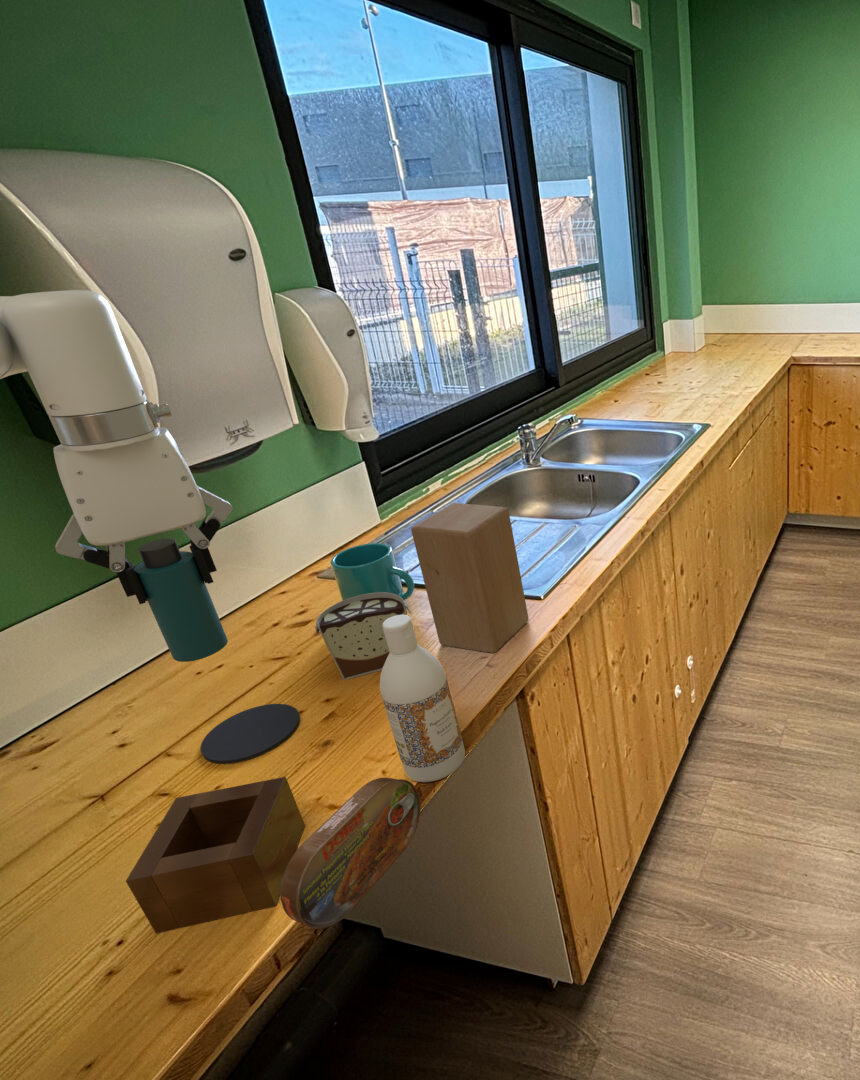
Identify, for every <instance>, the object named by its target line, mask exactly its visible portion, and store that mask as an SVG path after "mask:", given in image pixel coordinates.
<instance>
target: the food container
mask: <svg viewBox="0 0 860 1080" xmlns="http://www.w3.org/2000/svg"><path fill="white" fill-rule="evenodd" d="M405 607H406V608H405ZM407 612H408V613H409V614H410V615H411V614H412V611H411V609H410V607H409V606H408V604H407V601H406V602H405V601H404V600H403V599H402V598H401V597H400V596H398V595H396V594H392V593H383V592H379V593H368V594H363V595H358V596H355V597H351V598H348V599H346V600H343V601H342V600H341V601H338V602H336V603H334V604H332V605H331V606H328V607H327V608H326V609H325V610H324V611H322V612H321V613H320V614H319V615H318V617H317V619H316V621H315V627H314V628H315V629H314V630H315V636H316V637H318V635H319V633H320V635H321V637H322V639H323V641H324V644H325V645H326V647H327V650H328V651H329V654H330V656H331V658H332V660H333V662H334V664H335V666H336V668H337V671H338V672H339V675H340V676H341V679H342V680H343V681H347V680H351V679H354V678H358V677H361V676H365V675H369V674H373V673H376V672H380V671H382V669H383V666H384V664H385V662H386V659H387V657H388V655H389V653H390V651H389V648H388V645H387V641H386V638H385V634H384V631H383V627H382V624H383V622H384V621H385V620H386V619H388V618H390V617H393V616H396V615H407Z"/></svg>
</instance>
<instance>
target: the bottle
mask: <svg viewBox="0 0 860 1080" xmlns="http://www.w3.org/2000/svg"><path fill="white" fill-rule="evenodd" d="M137 550H138V553H139V555H140V557H141V559H142V561H141V562H139V563H138V564H136V565H135V566H134V567H133V568H134V571H135V573H136V575H137V578H138V580H139V582H140V584H141V587H142V589H143V591H144V593H145V596H146V598H147V600H148V601H147V603H148V605H149V608H150V609H151V612H152V615H153V617H154V619H155V621H156V623H157V626H158V627H159V630H160V632H161V635H162V636H163V640H164V641H165V643H166V647H167V648H168V650H169V653H170V656H171V657H172V659H173V660H174V661H176V662H180V663H190V662H195V661H199V660H202V659H206V658H208V657H210V656H212V655H215V654H217V653H218V652H220V651H221V650H223V649H224V648H225V647H226V646H227V645H228V642H229V640H228V637H227V635H226V631H225V630H224V627H223V625H222V621H221V620H220V617H219V615H218V612H217V609H216V607H215V605H214V602H213V600H212V597H211V594H210V592H209V590H208V587H207V585H206V584H207V583H205V582H204V580H203V577H202V575H201V572H200V570H199V567H198V565H197V562H196V560H195V557H194V555H193V553H192V552H191V551H187V550H186V551H184V550H180V548H179V546H178V542H177V541H176V539H174V538H160V539H154V540H151V541H149V542H146V543H144V544H142V545H140V546H139V547H138V549H137Z"/></svg>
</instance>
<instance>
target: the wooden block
mask: <svg viewBox="0 0 860 1080" xmlns="http://www.w3.org/2000/svg"><path fill="white" fill-rule="evenodd" d="M410 531H411V535H412V539H413V543H414V547H415V550H416V551H415V552H416V556H417V559H418V563H419V567H420V571H421V575H422V579H423V582H424V587H425V591H426V594H427V595H426V596H427V598H428V602H429V605H430V610H431V614H432V618H433V622H434V627H435V630H436V634H437V638H438V642H439V644H440V645H441V646H444V647H445V646H446V647H450V648H451V647H452V648H457V649H465V650H469V651H470V650H471V651H475V652H482V653H489V652H490V654H494V653H496V652H498V650H499V649H501V648H502V646H503V645H505V644H506V643H507V642H508V641H509V640H510V639H511V638H512V637H514V635H515V634H516V633H517V632H518V631H520V630H521V628H523V626H525V625H526V623H528V622H529V614H528V607H527V603H526V602H527V601H526V598H525V597H526V596H525V592H524V591H525V590H524V585H523V580H522V575H521V570H520V565H519V559H518V554H517V553H518V552H517V547H516V543H515V537H514V533H513V532H514V531H513V527H512V522H511V516H510V511H509V508H508V507H506V506H497V505H496V506H494V505H483V504H474V503H473V504H472V503H462V502H461V503H460V502H453V503H450V504H449V505H447V506H446V507H444V508H442V509H441V510H439V511H437V512H435V513H434V514H432V515H430V516H428V517H427V518H425V519H422V520H421V521H420V522H417V524H415V525H413V526H411V528H410ZM527 621H528V622H527ZM509 638H510V639H509ZM506 641H507V642H506ZM505 642H506V643H505Z"/></svg>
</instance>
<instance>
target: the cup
mask: <svg viewBox="0 0 860 1080" xmlns="http://www.w3.org/2000/svg"><path fill="white" fill-rule="evenodd" d="M395 559H396V558H395V555H394V552H393V548H392V547H391V546H390V545H389V544H386V543H379V542H374V543H364V544H359V545H355V546H352V547H349V548H346V549H344V550H342V551H339V552H338V553H337V554H335V555H334V556H333V557H332V558H331V559H330V567H331V569H332V573H333V576H334V578H335V582H336V585H337V588H338V592H339V594H340V595H339V596H340V598H341V601H343V600H346V599H348V598H351V597H355V596H358V595H363V594H368V593H379V592H383V593H392V594H396V595H398V596H400V597H401V598H402V599H403V600H404V601H405V602H406V603H407V599H409V598H410V597H411V596H412V595H413V594H414V592H415V586H416V585H415V581H414V579H413V577H412V576H411V575H410V573H409V572H407V571H406V570H404V569H402V568H399V567H397V562H396V560H395ZM401 579H402V580H403V581H404V582H405V584H406V588H407V589H406V592H404V589H403V588H404V587H403V586H402V582H401ZM405 608H406V607H405ZM406 609H407V608H406Z"/></svg>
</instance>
